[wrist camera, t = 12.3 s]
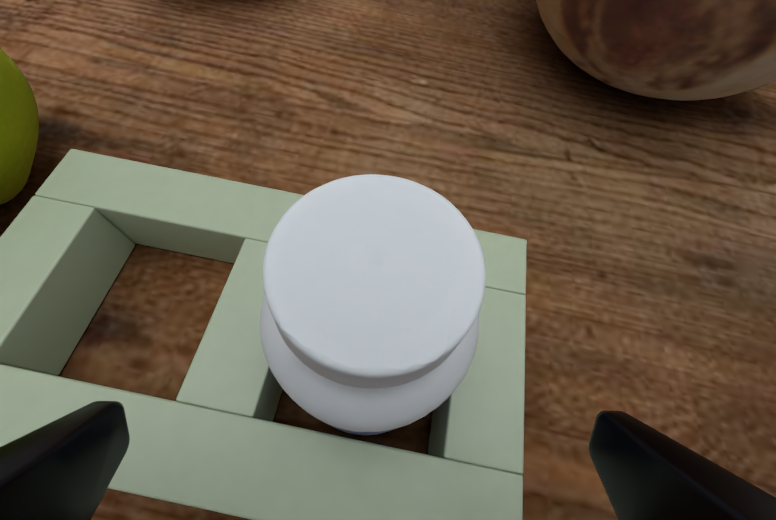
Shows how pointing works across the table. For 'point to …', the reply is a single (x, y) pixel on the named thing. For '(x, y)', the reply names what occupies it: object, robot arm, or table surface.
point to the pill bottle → (371, 302)
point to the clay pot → (668, 44)
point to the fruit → (15, 128)
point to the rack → (241, 360)
